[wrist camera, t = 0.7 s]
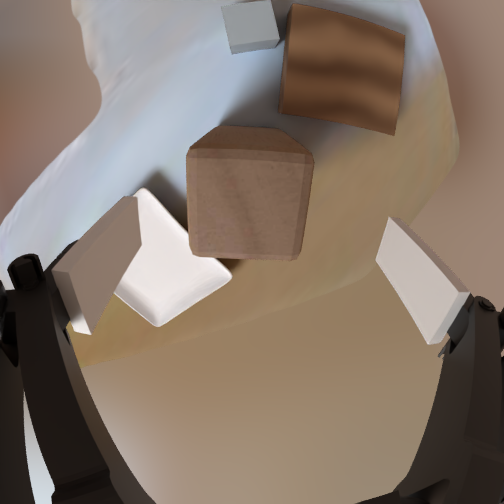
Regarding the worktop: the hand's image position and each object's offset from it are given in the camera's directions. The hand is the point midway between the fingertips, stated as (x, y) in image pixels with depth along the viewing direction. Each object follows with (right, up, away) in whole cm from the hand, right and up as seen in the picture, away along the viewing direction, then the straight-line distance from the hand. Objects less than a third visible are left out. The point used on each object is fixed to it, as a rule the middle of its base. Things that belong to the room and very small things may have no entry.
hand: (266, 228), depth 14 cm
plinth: (+12, +25, +18) cm, 33 cm away
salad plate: (-18, -2, +34) cm, 39 cm away
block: (-1, +12, +25) cm, 28 cm away
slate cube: (-1, +29, +15) cm, 33 cm away
